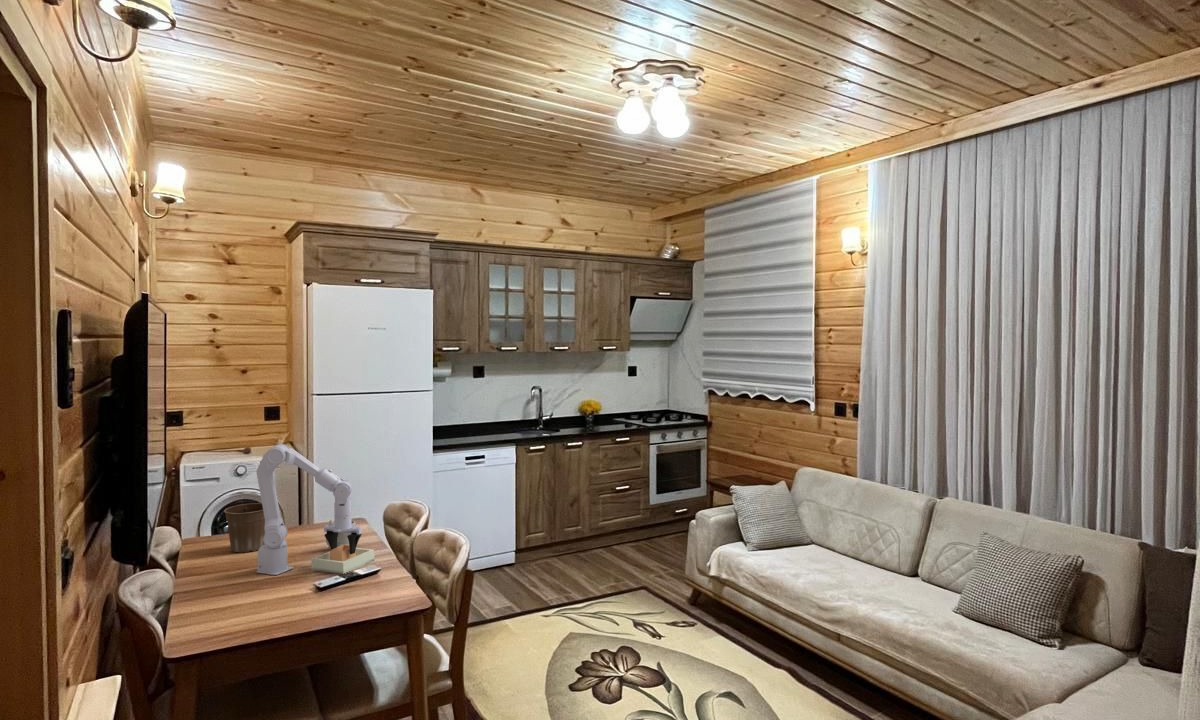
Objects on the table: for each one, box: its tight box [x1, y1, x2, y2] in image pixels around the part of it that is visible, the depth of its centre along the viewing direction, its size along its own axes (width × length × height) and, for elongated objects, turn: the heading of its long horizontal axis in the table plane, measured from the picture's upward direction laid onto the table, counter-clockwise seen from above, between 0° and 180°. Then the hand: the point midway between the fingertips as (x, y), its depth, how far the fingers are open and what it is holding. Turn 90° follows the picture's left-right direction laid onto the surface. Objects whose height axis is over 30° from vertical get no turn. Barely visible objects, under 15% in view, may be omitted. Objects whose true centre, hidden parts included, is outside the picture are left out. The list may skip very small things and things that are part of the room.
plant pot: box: [223, 502, 265, 553], centre depth 264 cm, size 16×16×16 cm
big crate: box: [310, 547, 375, 575], centre depth 243 cm, size 14×16×4 cm
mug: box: [324, 519, 358, 549], centre depth 263 cm, size 8×12×12 cm, turn 125°
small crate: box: [329, 545, 356, 562], centre depth 243 cm, size 5×8×6 cm, turn 165°
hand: (343, 552), depth 243 cm, fingers open, 7 cm apart
